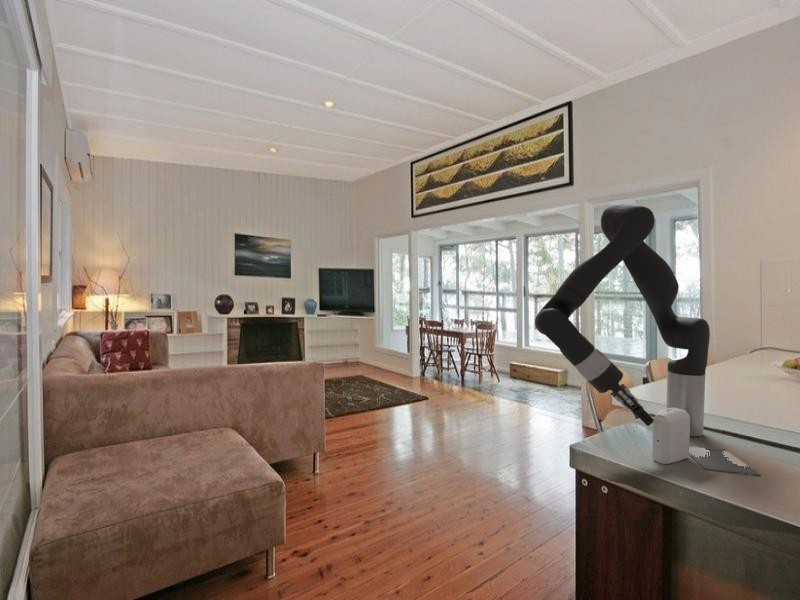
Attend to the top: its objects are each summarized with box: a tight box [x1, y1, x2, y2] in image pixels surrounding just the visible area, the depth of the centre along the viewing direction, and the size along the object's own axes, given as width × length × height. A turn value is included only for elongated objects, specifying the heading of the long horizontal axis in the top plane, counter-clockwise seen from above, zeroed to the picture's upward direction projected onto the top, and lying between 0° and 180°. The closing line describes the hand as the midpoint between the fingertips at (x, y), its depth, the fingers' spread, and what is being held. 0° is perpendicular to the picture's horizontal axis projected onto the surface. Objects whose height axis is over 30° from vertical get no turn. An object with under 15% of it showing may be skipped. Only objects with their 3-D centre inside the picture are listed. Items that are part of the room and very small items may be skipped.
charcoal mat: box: [689, 445, 761, 477], centre depth 106 cm, size 16×11×1 cm
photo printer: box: [651, 408, 691, 465], centre depth 106 cm, size 10×4×12 cm, turn 119°
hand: (650, 422), depth 107 cm, fingers closed
